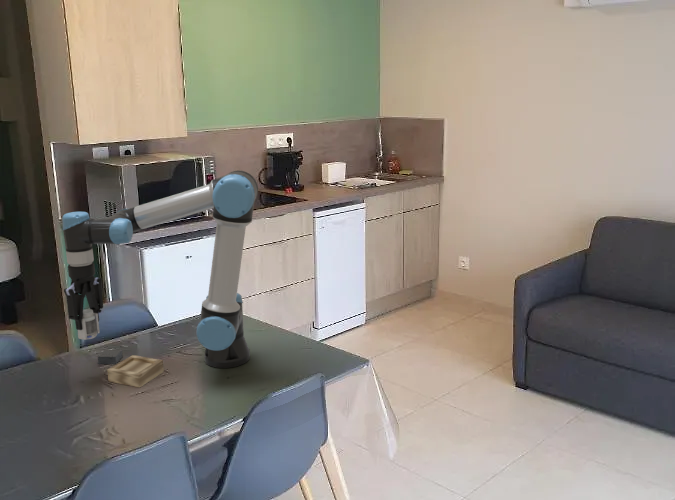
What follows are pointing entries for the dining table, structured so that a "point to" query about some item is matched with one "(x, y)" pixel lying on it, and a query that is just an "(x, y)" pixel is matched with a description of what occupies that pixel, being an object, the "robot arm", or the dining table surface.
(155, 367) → the stand
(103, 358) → the black tin
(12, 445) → the dining table surface
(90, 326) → the pill bottle
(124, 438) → the dining table surface
